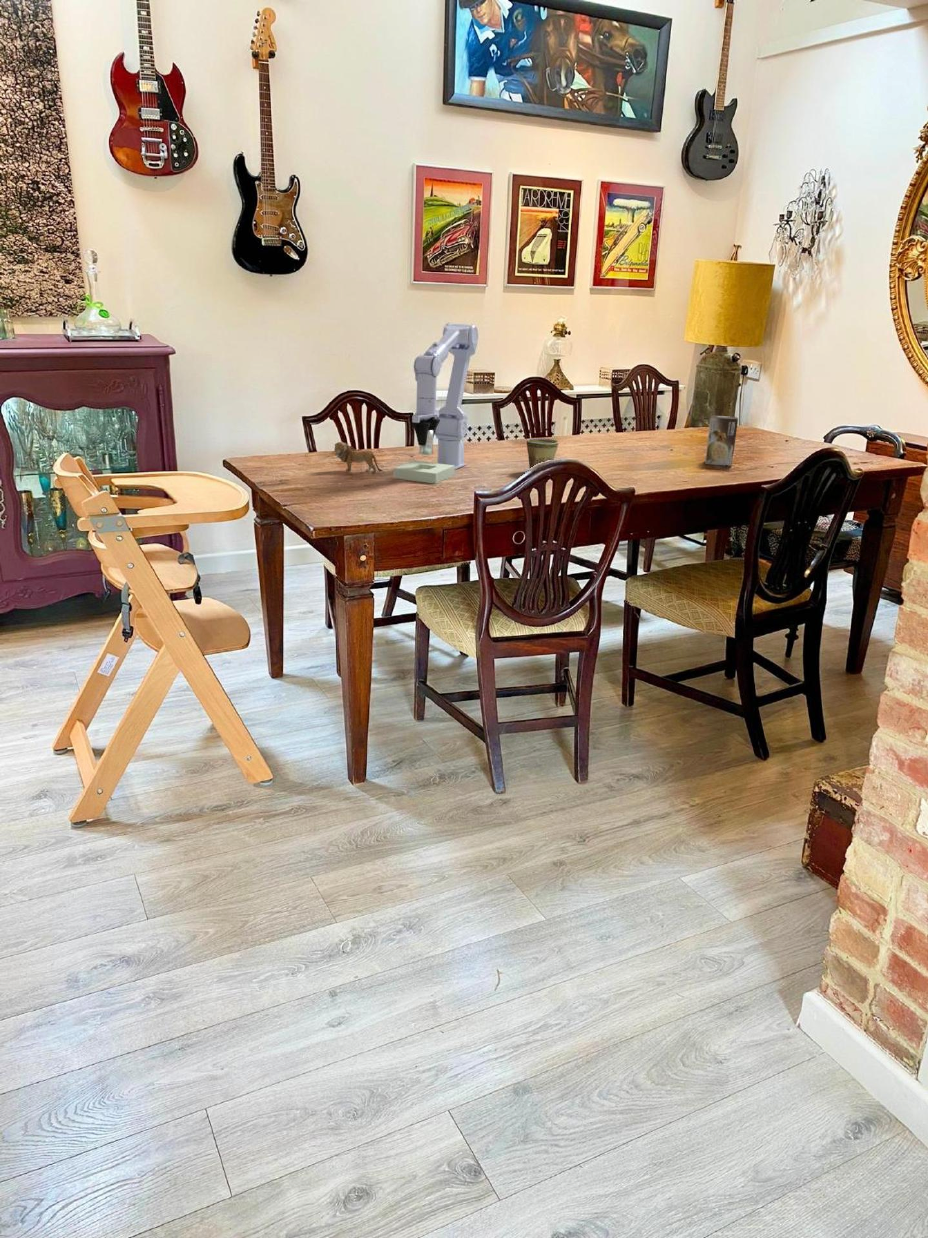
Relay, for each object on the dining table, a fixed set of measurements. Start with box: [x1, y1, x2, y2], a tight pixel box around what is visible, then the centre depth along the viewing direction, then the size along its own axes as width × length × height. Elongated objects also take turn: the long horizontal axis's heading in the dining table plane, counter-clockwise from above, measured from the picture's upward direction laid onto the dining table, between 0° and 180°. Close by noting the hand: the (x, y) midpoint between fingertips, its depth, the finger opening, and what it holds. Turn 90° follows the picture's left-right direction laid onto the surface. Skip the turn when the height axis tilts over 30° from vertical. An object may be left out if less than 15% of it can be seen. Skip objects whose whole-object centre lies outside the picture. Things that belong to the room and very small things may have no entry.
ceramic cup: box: [526, 437, 559, 469], centre depth 277 cm, size 13×10×10 cm
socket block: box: [392, 460, 456, 484], centre depth 264 cm, size 14×14×3 cm
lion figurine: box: [333, 441, 383, 475], centre depth 266 cm, size 15×5×9 cm, turn 90°
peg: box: [419, 429, 434, 456], centre depth 261 cm, size 4×4×7 cm
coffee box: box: [704, 414, 739, 467], centre depth 302 cm, size 9×6×16 cm
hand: (425, 444), depth 261 cm, fingers closed on peg, 4 cm apart
